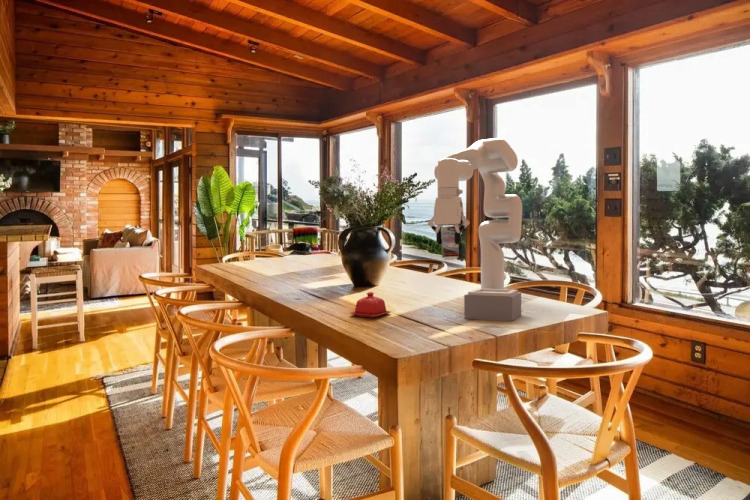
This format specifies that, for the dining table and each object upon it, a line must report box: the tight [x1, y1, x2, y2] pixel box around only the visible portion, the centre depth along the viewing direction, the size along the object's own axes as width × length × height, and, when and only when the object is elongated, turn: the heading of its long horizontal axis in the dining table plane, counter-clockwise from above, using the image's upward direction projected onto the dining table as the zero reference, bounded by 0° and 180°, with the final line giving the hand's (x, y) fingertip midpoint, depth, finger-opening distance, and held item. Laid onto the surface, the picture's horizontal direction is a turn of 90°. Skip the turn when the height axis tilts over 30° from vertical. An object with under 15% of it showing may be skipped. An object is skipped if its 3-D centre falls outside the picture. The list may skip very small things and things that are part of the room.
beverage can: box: [440, 225, 460, 261], centre depth 196 cm, size 6×7×12 cm
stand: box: [463, 288, 522, 322], centre depth 189 cm, size 16×16×9 cm
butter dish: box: [349, 291, 392, 319], centre depth 196 cm, size 12×12×8 cm
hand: (448, 243), depth 196 cm, fingers closed on beverage can, 5 cm apart
